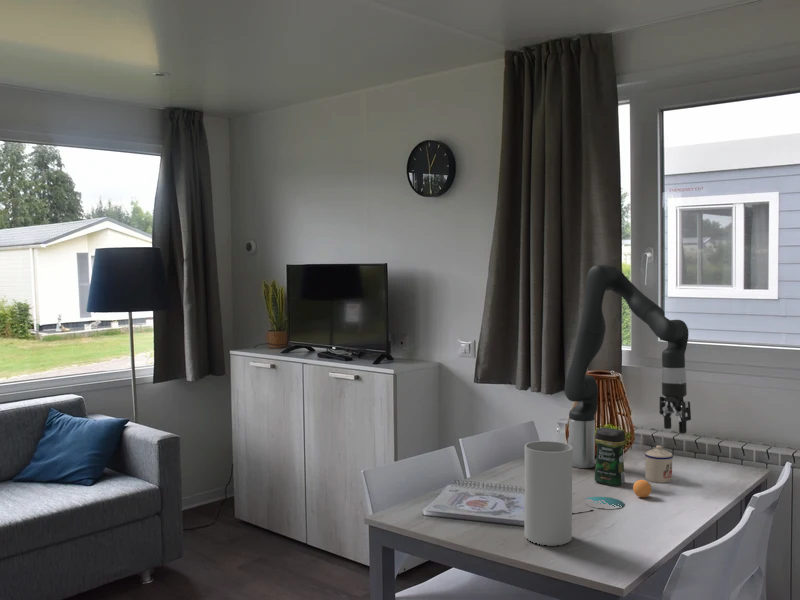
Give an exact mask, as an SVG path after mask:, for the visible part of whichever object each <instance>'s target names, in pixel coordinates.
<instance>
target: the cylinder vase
mask: <svg viewBox="0 0 800 600" xmlns="http://www.w3.org/2000/svg"><path fill="white" fill-rule="evenodd" d="M572 502H573V467H572V446H570V445H568V443H565V442H559V441H549V440H537V441H531V442H527V443H525V444H524V521H523V522H524V527H523V528H524V531H523V532H524V534H523V535H524V537H525V539H526V540H527V539H528V540H527V541H529V542H530V541H531V542H530V543H532V542H533V543H532V544H535V543H537V544H536V545H539V544H540V545H539V546H544V545H547V546H546V547H556V546H557V545H559V546H564V545H567V544H568V543H570V542H571V540H572V538H573V531H572V530H573V514H572ZM566 543H567V544H566ZM563 544H564V545H563ZM557 547H558V546H557Z"/></svg>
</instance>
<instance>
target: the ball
mask: <svg viewBox="0 0 800 600" xmlns="http://www.w3.org/2000/svg"><path fill="white" fill-rule="evenodd" d="M632 489H633V493H634V495H636V496H637V497H639V498H642V499H643V498H647V497H649V496H650V495H651V492H652V486H651V483H649V482H648V480H645V479H638V480H637V481H635V482H634V484H633V487H632Z"/></svg>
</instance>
